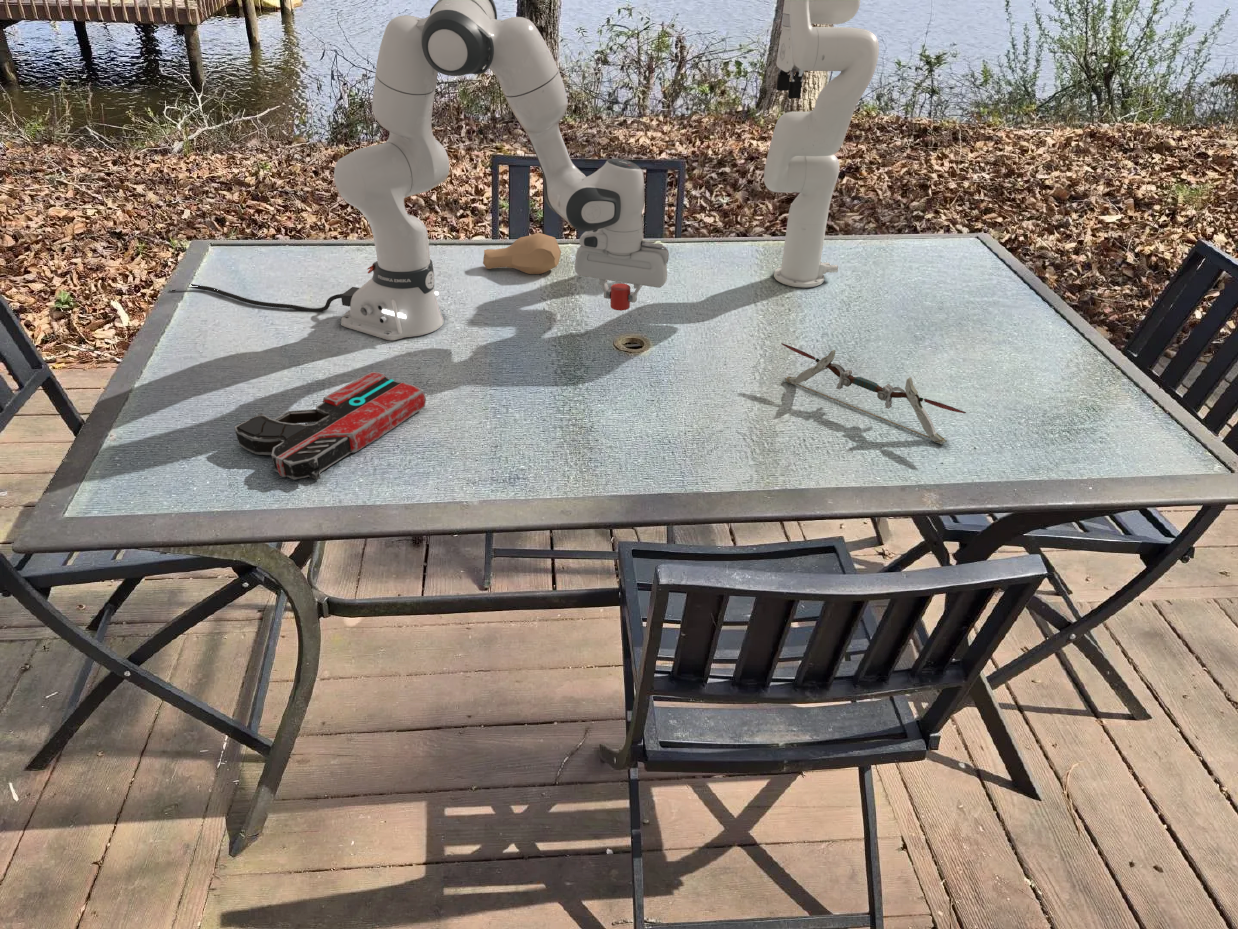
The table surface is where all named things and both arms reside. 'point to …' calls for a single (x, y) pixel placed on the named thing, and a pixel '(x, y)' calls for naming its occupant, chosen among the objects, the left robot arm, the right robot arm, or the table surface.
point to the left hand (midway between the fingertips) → (620, 299)
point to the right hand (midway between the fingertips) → (788, 93)
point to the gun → (331, 425)
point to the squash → (526, 254)
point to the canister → (620, 296)
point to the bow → (883, 393)
